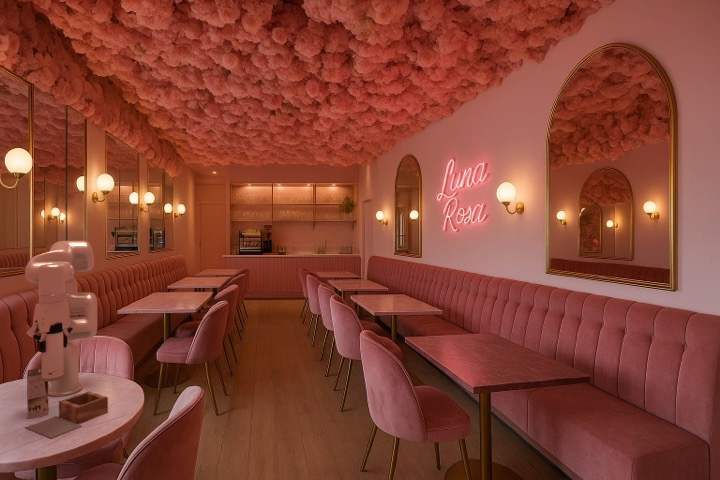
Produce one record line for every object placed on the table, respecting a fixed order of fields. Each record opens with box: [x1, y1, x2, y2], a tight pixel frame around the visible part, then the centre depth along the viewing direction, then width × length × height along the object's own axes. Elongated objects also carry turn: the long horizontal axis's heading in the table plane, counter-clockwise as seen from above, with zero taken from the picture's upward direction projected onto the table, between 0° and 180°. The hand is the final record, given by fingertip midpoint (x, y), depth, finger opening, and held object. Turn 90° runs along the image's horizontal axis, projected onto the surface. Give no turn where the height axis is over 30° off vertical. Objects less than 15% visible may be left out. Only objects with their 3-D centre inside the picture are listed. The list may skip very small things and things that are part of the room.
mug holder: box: [58, 391, 109, 425], centre depth 162 cm, size 12×11×6 cm
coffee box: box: [26, 367, 49, 419], centre depth 163 cm, size 9×6×16 cm
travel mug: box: [41, 323, 64, 383], centre depth 151 cm, size 6×7×20 cm
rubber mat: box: [25, 415, 83, 440], centre depth 152 cm, size 16×10×1 cm, turn 64°
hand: (52, 349), depth 151 cm, fingers closed on travel mug, 6 cm apart
